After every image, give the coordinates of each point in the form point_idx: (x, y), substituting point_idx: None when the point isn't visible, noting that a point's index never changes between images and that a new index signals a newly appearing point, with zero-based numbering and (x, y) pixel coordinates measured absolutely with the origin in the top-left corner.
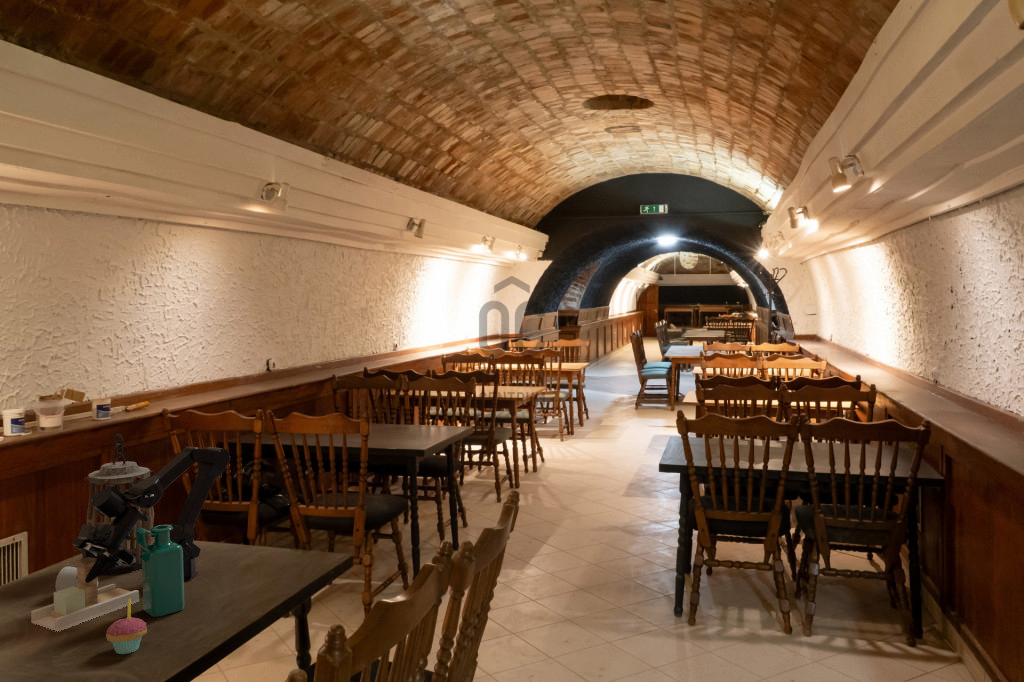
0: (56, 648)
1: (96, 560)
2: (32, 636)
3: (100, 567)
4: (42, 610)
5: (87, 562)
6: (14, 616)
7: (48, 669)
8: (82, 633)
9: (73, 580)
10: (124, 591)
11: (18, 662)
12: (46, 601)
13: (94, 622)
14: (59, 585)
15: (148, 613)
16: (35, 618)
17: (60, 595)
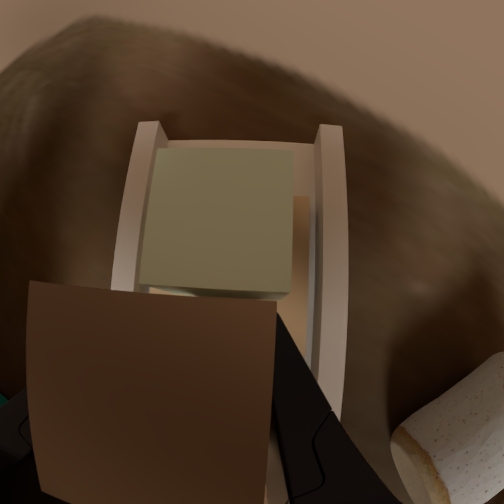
0: (68, 97)
1: (19, 454)
2: (206, 93)
3: None
4: (320, 161)
5: (36, 342)
6: (443, 171)
7: (26, 60)
8: (68, 187)
9: (465, 415)
10: None
11: (103, 30)
12: (486, 319)
13: (101, 271)
14: (498, 362)
15: (5, 398)
16: (315, 145)
17: (213, 151)
